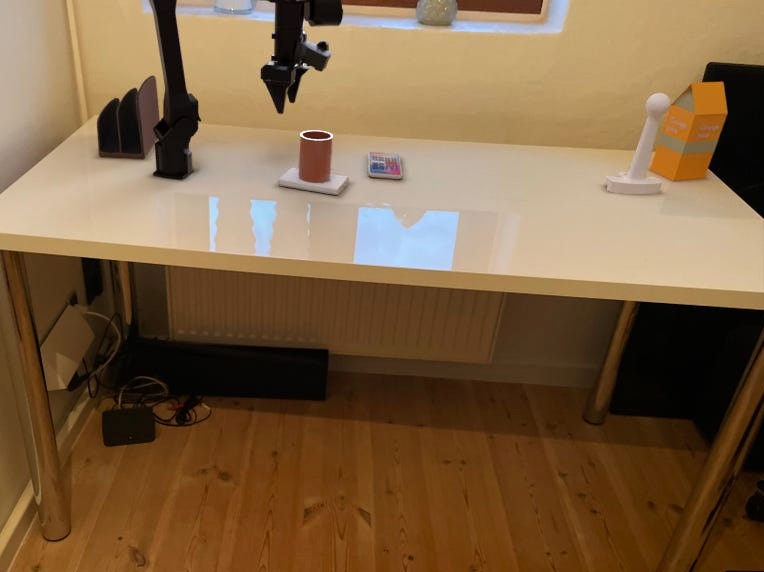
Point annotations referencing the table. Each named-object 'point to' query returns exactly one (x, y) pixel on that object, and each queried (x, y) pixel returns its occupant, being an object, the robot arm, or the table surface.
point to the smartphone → (384, 165)
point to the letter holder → (129, 123)
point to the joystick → (642, 154)
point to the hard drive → (328, 187)
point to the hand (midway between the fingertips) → (286, 108)
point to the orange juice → (691, 132)
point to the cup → (315, 156)
